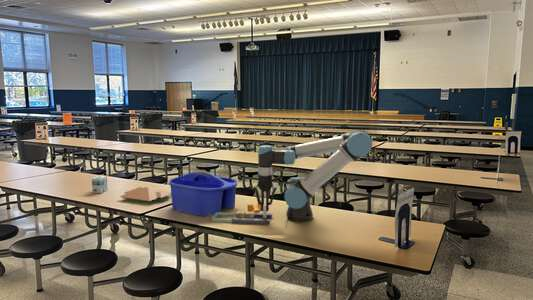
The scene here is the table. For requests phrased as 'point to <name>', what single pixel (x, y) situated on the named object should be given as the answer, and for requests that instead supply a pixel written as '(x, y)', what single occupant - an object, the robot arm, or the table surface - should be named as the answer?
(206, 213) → the caddy
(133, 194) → the house
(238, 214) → the chip
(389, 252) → the table surface
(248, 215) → the chip
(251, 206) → the pipe clamp
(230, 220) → the tray
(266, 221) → the slot rail
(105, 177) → the light bulb box
